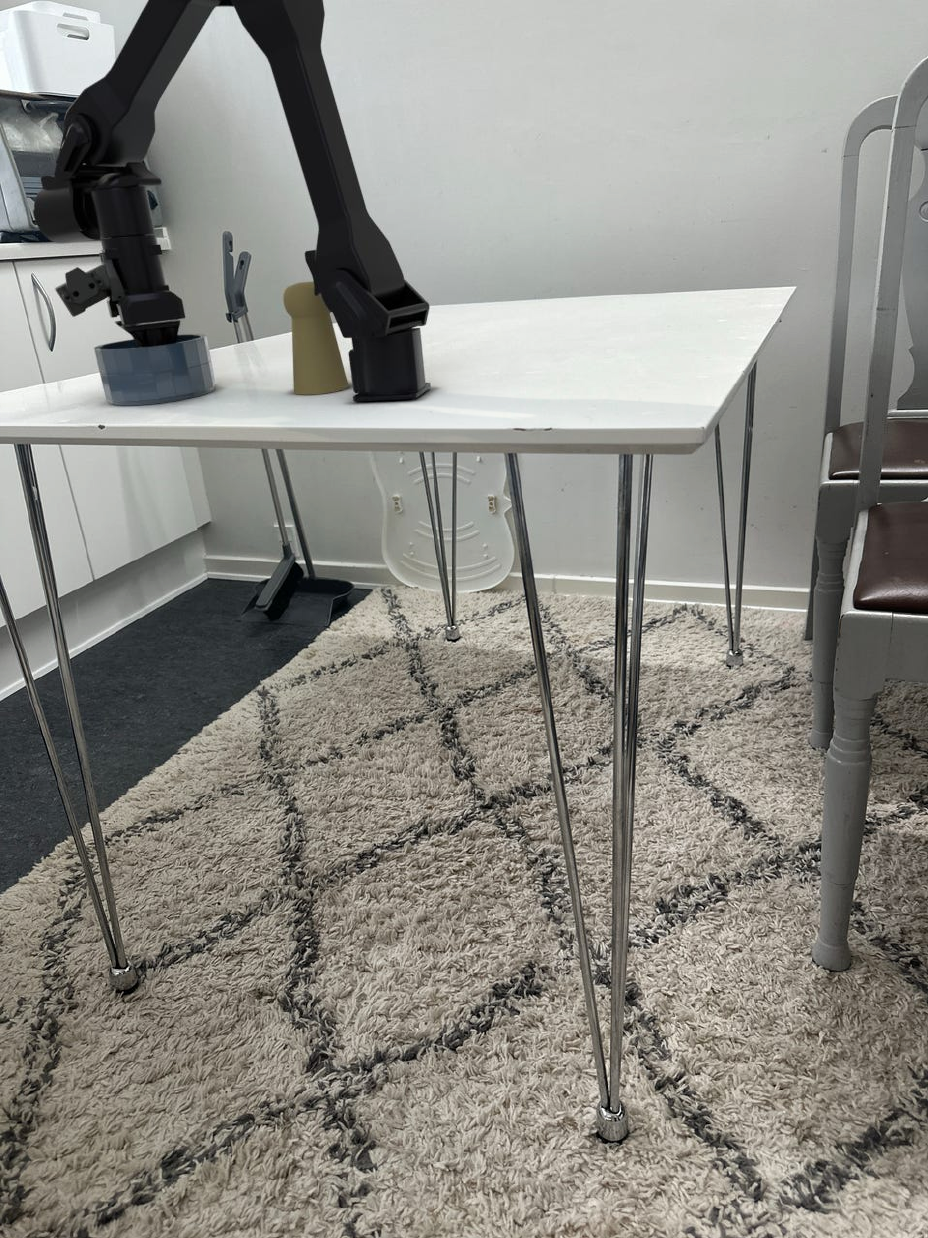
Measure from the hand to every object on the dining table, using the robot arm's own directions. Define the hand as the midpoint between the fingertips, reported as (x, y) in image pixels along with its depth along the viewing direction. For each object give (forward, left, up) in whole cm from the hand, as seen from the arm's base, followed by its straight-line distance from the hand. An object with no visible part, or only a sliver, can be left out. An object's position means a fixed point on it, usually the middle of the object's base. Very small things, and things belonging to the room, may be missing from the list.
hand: (159, 384), depth 102 cm
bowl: (0, 0, -1) cm, 1 cm away
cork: (-20, +1, -2) cm, 20 cm away
